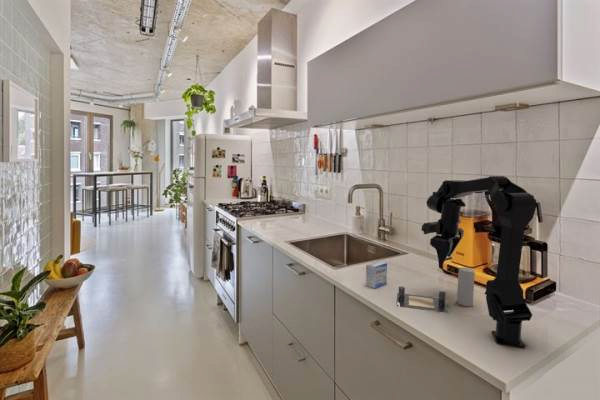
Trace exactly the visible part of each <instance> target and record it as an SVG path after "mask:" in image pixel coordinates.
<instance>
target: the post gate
mask: <svg viewBox="0 0 600 400" xmlns="http://www.w3.org/2000/svg"><path fill="white" fill-rule="evenodd" d="M405 290H406V287H404V286H398V292H397V293H396V303H397V302H399V303H400V307H399V308H406V309H414V310H423V311H427V312H429V311H430V312H438V313H445V314H449V313H450V312H449V309H448V306H447V303H446V291H443V290H440V291H438V297H437V296H429V295H428V296H427V295H419V294H410V293H409V294H408V293H405V292H406V291H405Z"/></svg>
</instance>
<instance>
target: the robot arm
mask: <svg viewBox="0 0 600 400" xmlns="http://www.w3.org/2000/svg"><path fill="white" fill-rule="evenodd" d="M481 192H482V193H483V192H489V198H490V201H491V202H492V203H493V204H494V205H495V206H496V216H497V218H498V220H499V222H500V224H501V234H500V244H499V251H498V258H497V268H496V276H495V278H494V279H488V280H487V281H486V285H485V287H486V289H485V292H484V295H486V296H485V300H486V305H487V310H488V316H490V317H491V318H492V320H493V321H495V322H496V323H495V330H491V335H492V337H493V339H494V341H495V343H496V344H498V345H503V346H509V347H515V348H516V347H517V348H522V349H525V348H526V344H525V343H524V342H523V340H522V336H521V335H522V324H523V322H526V321H528V322H529V321H530V320H531V319H532V317H533V313H532V311H531V310H530V308H529V306H528V304H527V303H526V301H525V299H524V289H523V288H522V286H521V284H520V281H519V274H520V268H521V267H520V266H521V260H522V253H523V252H522V251H523V245H524V244H523V243H524V236H525V230H526V227H528V225H529V224H530V223H531V222H532V220H533V218H534V216H535V214H536V213H535V212H536V209H537V205H538V204H537V199H536V198H535V197H534V196H533V195H532V194H531V193H529V192H528V191H526V189H525V188H523V187H521V186H519V185H517V184H516V183H513V181H511V180H510V178H508V177H506V176H505V175H490V176H488V177H482V178H481V177H480V178H477V179H469V180H462V179H460V180H459V179H455V180H454V179H453V180H451V179H449V180H446V179H445V180H443V181H442V184H441V185H440V186H439V188H438V189H437V191H433V192H432V195H430V196H429V197H428V198H427V199H426V206H427V208H428V209H429V210H431V211H433V212H435V213H439V214H441V215H440V219H438V220H437V221H432V222H430V221H429V222H424V223H423V224H422V225H421V231H422V232H423V235H428V234H433V233H435V235H434V236H433V237H432V238H430V241H429V245H430V246H431V247H432V248H433V249H435V251H436V254H437V255H436V256H437V260H438V264H439V265H443V264H444V262H445V261H446V260H447V258H450V257H451V256H452V255H453V253H454V251H455V250H456V248H457V247H458V245H459V243H460V242H461V241H462V240H463V239H462V238H463V237H464V233H465V231H464V230H463V228H461V227H459V225H460V224H461V219H460V217H461V208H462V207H463V208H464V207H466V203H465V202H464V200H462V198H464V197H467V196H469V195H471V194H473V193H481ZM502 192H503V193H502Z"/></svg>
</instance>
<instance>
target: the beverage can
mask: <svg viewBox="0 0 600 400" xmlns="http://www.w3.org/2000/svg"><path fill="white" fill-rule="evenodd" d="M475 276H476V272H475V269H473V268H469V267H460V268H459V269H458V276H457V293H456V298H457V299H456V302H457V304H458V305H460V306H463V307H468V308H469V307H471V306H473V303H474V288H475Z"/></svg>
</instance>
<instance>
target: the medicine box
mask: <svg viewBox="0 0 600 400" xmlns="http://www.w3.org/2000/svg"><path fill="white" fill-rule="evenodd" d="M387 280H388V263H387V262H384V261H381V260H377V261H374V262H371V263H368V264H366V265H365V286H366V287H369V288H372V289H378V288H381V287H382V286H384V285H387Z"/></svg>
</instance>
